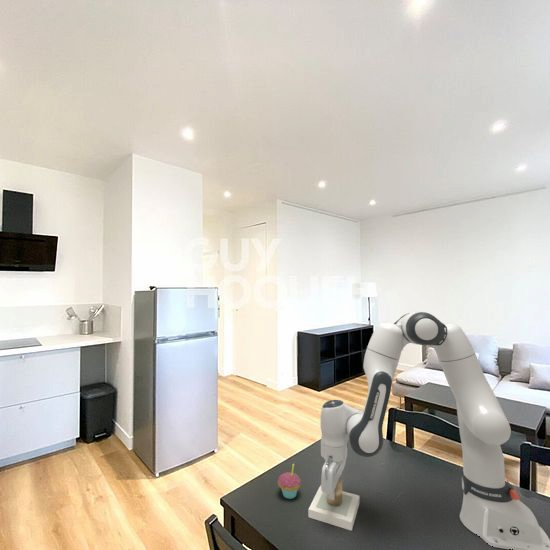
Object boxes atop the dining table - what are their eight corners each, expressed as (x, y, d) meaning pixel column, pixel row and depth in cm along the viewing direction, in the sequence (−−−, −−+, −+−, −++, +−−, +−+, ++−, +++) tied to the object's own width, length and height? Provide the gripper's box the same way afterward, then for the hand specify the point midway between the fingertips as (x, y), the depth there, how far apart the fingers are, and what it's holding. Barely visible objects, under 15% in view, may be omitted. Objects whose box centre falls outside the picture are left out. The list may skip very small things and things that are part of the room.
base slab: (359, 503, 106) (359, 494, 106) (351, 530, 94) (351, 521, 94) (320, 492, 112) (320, 484, 112) (308, 517, 99) (308, 508, 100)
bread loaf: (343, 498, 104) (343, 476, 105) (340, 507, 100) (340, 485, 100) (329, 494, 106) (328, 473, 107) (324, 503, 102) (324, 481, 102)
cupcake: (305, 492, 112) (305, 458, 113) (293, 505, 105) (293, 469, 106) (285, 484, 117) (285, 452, 118) (272, 496, 110) (272, 462, 111)
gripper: (335, 467, 94) (336, 515, 93) (349, 439, 112) (349, 478, 111) (315, 462, 96) (316, 509, 95) (332, 436, 115) (332, 474, 114)
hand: (334, 492), depth 103 cm, fingers closed on bread loaf, 5 cm apart
